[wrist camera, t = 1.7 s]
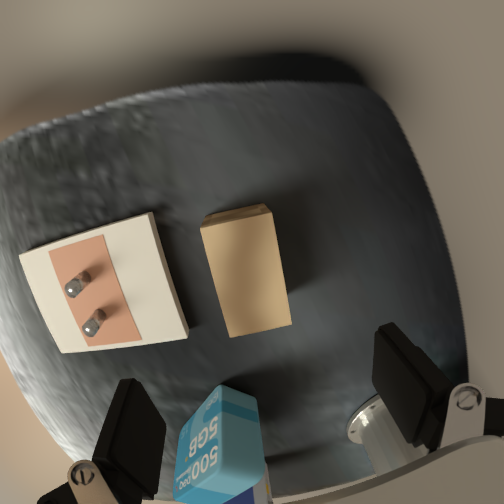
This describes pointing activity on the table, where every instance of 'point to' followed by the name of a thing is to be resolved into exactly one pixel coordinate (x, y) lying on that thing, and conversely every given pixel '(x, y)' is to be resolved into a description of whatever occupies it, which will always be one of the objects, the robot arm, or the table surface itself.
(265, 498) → the walkman
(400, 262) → the table surface
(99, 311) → the pins
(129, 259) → the plate
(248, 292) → the tan cardboard box
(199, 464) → the data package
